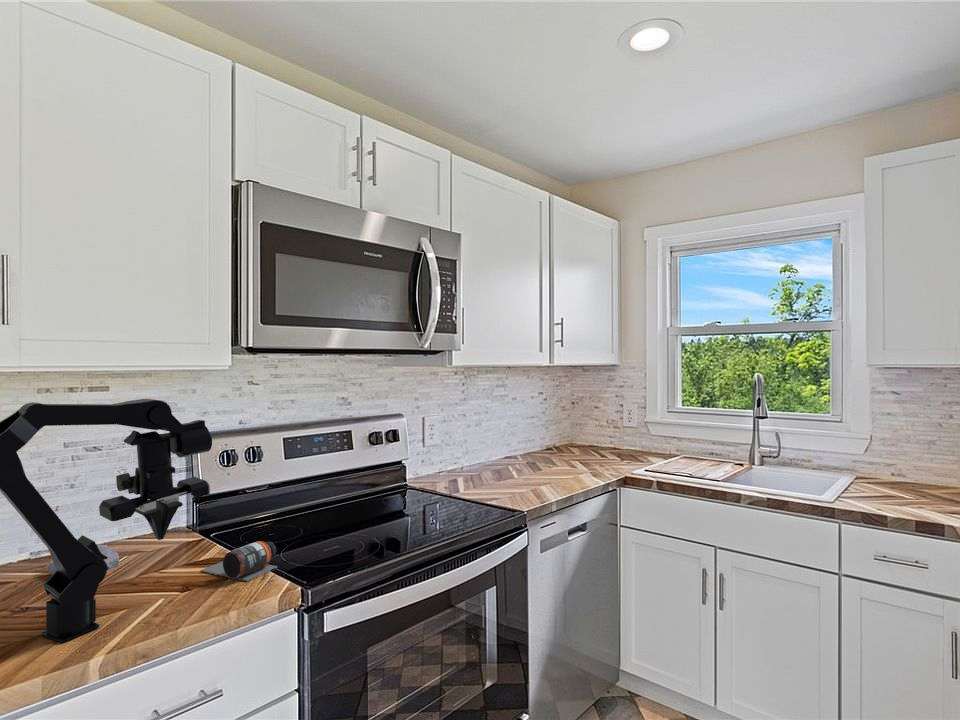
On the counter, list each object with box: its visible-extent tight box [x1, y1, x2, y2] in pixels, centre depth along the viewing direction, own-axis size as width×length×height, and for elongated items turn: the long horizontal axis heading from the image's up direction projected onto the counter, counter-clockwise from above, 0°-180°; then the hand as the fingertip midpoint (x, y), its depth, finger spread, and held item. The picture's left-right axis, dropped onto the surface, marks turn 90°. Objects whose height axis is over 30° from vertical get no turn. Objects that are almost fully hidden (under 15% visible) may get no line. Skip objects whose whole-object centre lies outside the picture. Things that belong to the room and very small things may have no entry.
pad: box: [200, 560, 278, 582], centre depth 134 cm, size 9×14×1 cm, turn 66°
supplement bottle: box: [222, 540, 277, 579], centre depth 133 cm, size 6×6×11 cm
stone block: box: [47, 544, 121, 576], centre depth 135 cm, size 12×5×10 cm
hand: (160, 539), depth 117 cm, fingers closed
